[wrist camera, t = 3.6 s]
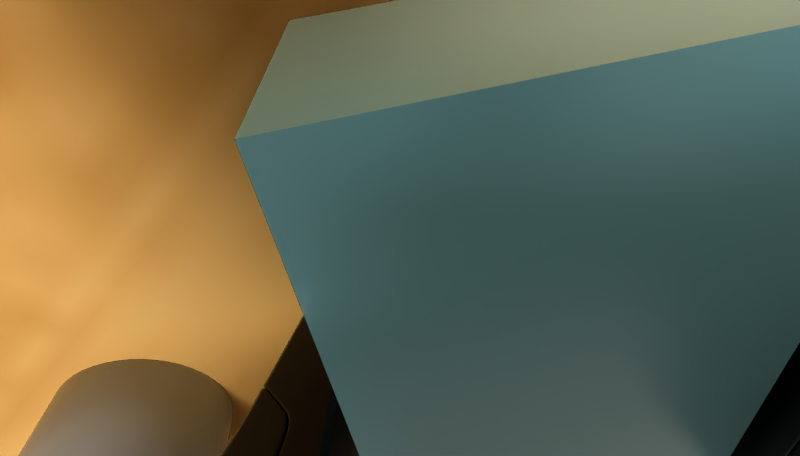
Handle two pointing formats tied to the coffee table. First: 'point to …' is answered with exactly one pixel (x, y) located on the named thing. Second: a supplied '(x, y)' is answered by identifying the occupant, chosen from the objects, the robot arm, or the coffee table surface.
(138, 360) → the grey cylinder
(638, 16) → the teal long brick
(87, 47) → the coffee table surface
